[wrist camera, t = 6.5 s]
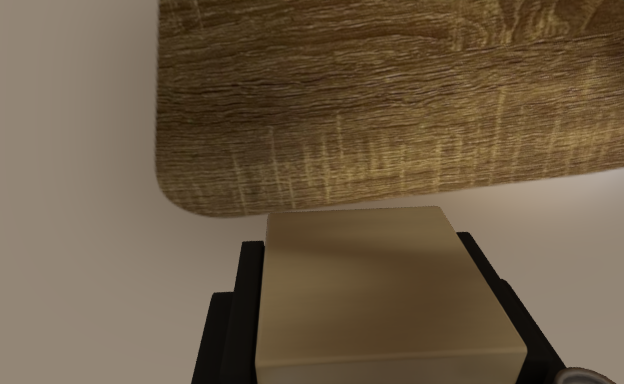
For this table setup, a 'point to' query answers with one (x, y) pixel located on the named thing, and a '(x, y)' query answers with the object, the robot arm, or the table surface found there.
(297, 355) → the block
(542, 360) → the robot arm
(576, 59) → the table surface
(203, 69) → the table surface
